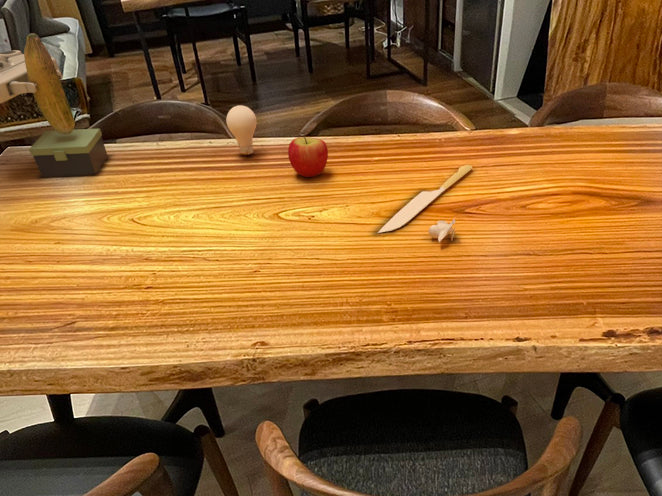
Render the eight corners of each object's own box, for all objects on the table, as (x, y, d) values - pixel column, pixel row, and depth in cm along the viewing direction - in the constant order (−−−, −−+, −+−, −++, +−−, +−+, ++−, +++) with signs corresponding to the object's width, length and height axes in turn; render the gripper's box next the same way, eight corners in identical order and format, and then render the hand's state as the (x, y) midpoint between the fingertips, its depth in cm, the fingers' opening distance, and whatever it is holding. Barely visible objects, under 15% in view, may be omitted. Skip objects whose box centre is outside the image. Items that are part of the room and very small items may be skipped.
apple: (286, 170, 137) (280, 124, 130) (323, 163, 139) (319, 118, 132) (296, 185, 131) (290, 138, 125) (334, 178, 133) (330, 131, 127)
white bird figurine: (425, 224, 116) (435, 202, 113) (448, 232, 117) (459, 210, 114) (426, 246, 110) (437, 223, 107) (450, 254, 111) (461, 232, 108)
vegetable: (56, 141, 134) (18, 39, 120) (43, 134, 137) (5, 34, 124) (82, 133, 137) (48, 33, 124) (69, 126, 140) (35, 27, 127)
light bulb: (264, 158, 142) (257, 108, 135) (235, 163, 141) (226, 113, 133) (258, 147, 147) (250, 99, 140) (230, 152, 145) (221, 103, 138)
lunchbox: (39, 178, 138) (28, 149, 133) (56, 157, 146) (46, 130, 142) (95, 176, 138) (85, 147, 134) (109, 155, 146) (100, 127, 142)
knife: (369, 228, 116) (390, 232, 113) (457, 161, 136) (476, 163, 133) (370, 234, 117) (391, 238, 114) (457, 167, 136) (476, 169, 134)
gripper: (-51, 76, 123) (7, 81, 120) (19, 47, 138) (72, 51, 134) (-36, 109, 127) (20, 114, 124) (31, 77, 142) (82, 82, 139)
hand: (48, 81), depth 130 cm, fingers closed on vegetable, 6 cm apart
